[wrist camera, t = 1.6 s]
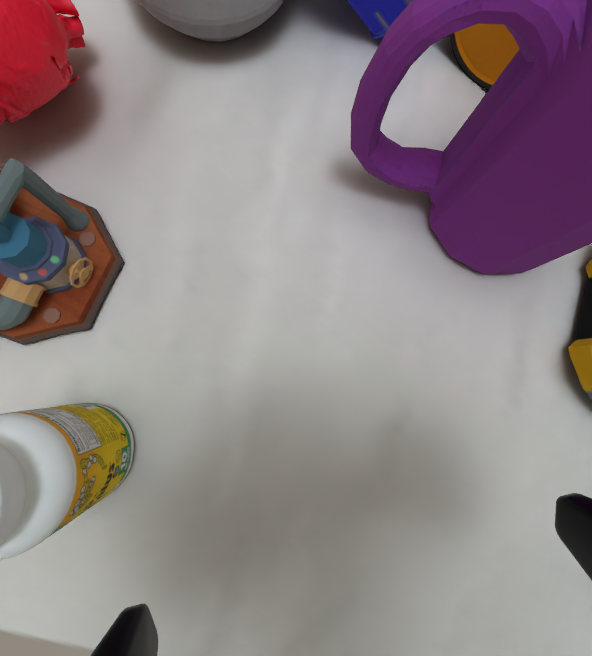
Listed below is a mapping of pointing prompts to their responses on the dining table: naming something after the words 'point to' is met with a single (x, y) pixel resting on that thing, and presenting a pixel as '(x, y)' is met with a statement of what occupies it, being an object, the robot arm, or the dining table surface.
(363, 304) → the dining table surface
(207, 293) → the dining table surface
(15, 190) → the model
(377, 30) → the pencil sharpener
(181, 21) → the coffee pot
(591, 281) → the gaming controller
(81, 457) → the supplement bottle
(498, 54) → the mug
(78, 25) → the heart organ
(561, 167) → the mug
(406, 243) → the dining table surface
